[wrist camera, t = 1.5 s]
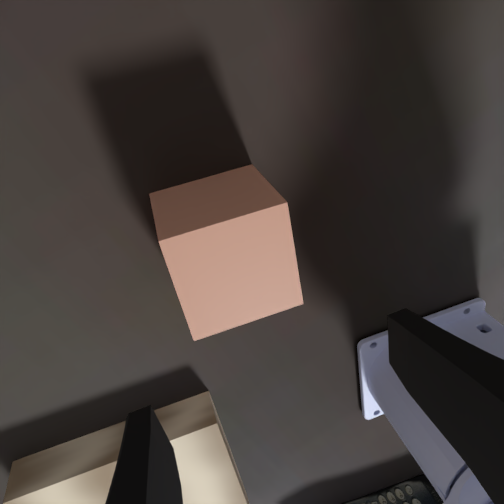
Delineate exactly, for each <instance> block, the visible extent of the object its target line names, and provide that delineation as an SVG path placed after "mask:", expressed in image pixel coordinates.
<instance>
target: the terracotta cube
mask: <svg viewBox="0 0 504 504" xmlns="http://www.w3.org/2000/svg"><path fill="white" fill-rule="evenodd" d="M149 196H150V201H151V206H152V211H153V216H154V221H155V226H156V232H157V237H158V242H159V244H160V247H161V250H162V253H163V256H164V258H165V261H166V264H167V267H168V270H169V272H170V275H171V278H172V281H173V284H174V286H175V289H176V292H177V295H178V298H179V300H180V303H181V306H182V309H183V312H184V314H185V317H186V320H187V323H188V326H189V329H190V331H191V334H192V337H193V340H194V341H196V340H199V339H202V338H205V337H208V336H211V335H213V334H216V333H219V332H222V331H225V330H228V329H231V328H234V327H237V326H240V325H243V324H246V323H249V322H252V321H255V320H257V319H260V318H263V317H266V316H269V315H272V314H275V313H278V312H281V311H284V310H287V309H290V308H293V307H296V306H298V305H301V304H303V298H302V291H301V285H300V279H299V272H298V266H297V260H296V254H295V247H294V241H293V235H292V228H291V222H290V216H289V209H288V203H287V201H286V200H285V199H284V198H283V197H282V196H281V195H280V194H279V193H278V192H277V191H276V190H275V188H274V187H273V186H272V185H271V184H270V183H269V182H268V181H267V180H266V179H265V178H264V177H263V176H262V175H261V173H260V172H259V171H258V170H257V169H256V168H255V167H254V166H253V165H252V164H251V165H248V166H244V167H241V168H237V169H234V170H230V171H226V172H223V173H219V174H216V175H212V176H209V177H205V178H202V179H198V180H195V181H191V182H188V183H184V184H181V185H177V186H174V187H170V188H167V189H163V190H160V191H156V192H153V193H149Z"/></svg>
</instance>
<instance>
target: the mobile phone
mask: <svg viewBox="0 0 504 504" xmlns="http://www.w3.org/2000/svg"><path fill="white" fill-rule="evenodd" d="M443 503H444V502H443V500H442V499H441V497H440V496H439V494H438V493H437V491H436V490H435V488H434V487H433V486H432V484H431V483H430V481H429V480H428V478H427V477H426V475H424V476H418V477H415V478H412V479H410V480H407V481H404V482H402V483H399V484H396V485H394V486H391V487H388V488H386V489H383V490H380V491H378V492H375V493H373V494H370V495H367V496H364V497H361V498H358V499H355V500H352V501H349V502H346V503H343V504H443Z"/></svg>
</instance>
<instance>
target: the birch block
mask: <svg viewBox="0 0 504 504" xmlns="http://www.w3.org/2000/svg"><path fill="white" fill-rule="evenodd" d="M154 412H155V414H156V416H157V418H158V420H159V422H160V424H161V425H162V427H163V429H164V431H165V433H166V435H167V437H168V439H169V441H170V443H171V444H172V446H173V448H174V453H175V458H176V462H177V467H178V472H179V477H180V482H181V488H182V498H183V504H249V501H248V497H247V494H246V491H245V488H244V485H243V483H242V480H241V477H240V474H239V472H238V469H237V466H236V464H235V461H234V458H233V455H232V453H231V450H230V447H229V444H228V442H227V439H226V436H225V434H224V431H223V428H222V425H221V423H220V420H219V417H218V414H217V412H216V409H215V406H214V404H213V401H212V398H211V395H210V393H209V391H207V392H204V393H201V394H198V395H196V396H193V397H190V398H187V399H184V400H182V401H179V402H176V403H173V404H171V405H168V406H165V407H162V408H159V409H157V410H154ZM125 423H126V421H123V422H121V423H118V424H115V425H112V426H110V427H107V428H104V429H101V430H98V431H96V432H93V433H90V434H87V435H85V436H82V437H79V438H76V439H74V440H71V441H68V442H65V443H62V444H60V445H57V446H54V447H51V448H49V449H46V450H43V451H40V452H37V453H35V454H32V455H29V456H26V457H24V458H21V459H18V460H15V461H13V462H12V467H11V471H10V476H9V480H8V484H7V489H6V493H5V497H4V502H3V504H105V503H106V499H107V496H108V492H109V489H110V485H111V482H112V478H113V475H114V471H115V467H116V463H117V459H118V455H119V451H120V447H121V443H122V438H123V433H124V428H125Z"/></svg>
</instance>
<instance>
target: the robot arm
mask: <svg viewBox="0 0 504 504" xmlns="http://www.w3.org/2000/svg"><path fill="white" fill-rule="evenodd" d="M387 319H388V330H387V331H384V332H381V333H379V334H376V335H373V336H370V337H367V338H365V339H362V340H361V341H360V342H359V343H358V345H357V352H358V365H359V378H360V391H361V404H362V414H363V416H364V418H365V419H372V418H375V417H377V416H380V415H382V414H385V416H386V417H387V419H388V420H389V422H390V423H391V425H392V426H393V428H394V429H395V431H396V432H397V434H398V435H399V437H400V438H401V440H402V441H403V443H404V444H405V446H406V447H407V449H408V450H409V451H410V453H411V454H412V456H413V457H414V459H415V460H416V462H417V463H418V465H419V466H420V468H421V469H422V471H423V472H424V474H425V475H426V477H427V478H428V480H429V481H430V483H431V484H432V486H433V487H434V488H435V490H436V491H437V493H438V494H439V496H440V497H441V499H442V500H443V502H444V503H443V504H504V326H503V325H502V324H500V323H499V322H498V321H497V320H495V319H494V318H493V317H492V316H490V315H489V314H488V313H487V312H485V301H484V300H483V299H481V298H476V299H473V300H470V301H467V302H464V303H462V304H459V305H456V306H453V307H451V308H448V309H445V310H442V311H439V312H437V313H434V314H431V315H428V316H426V317H423V318H422V317H421V316H419V315H417V314H415V313H413V312H411V311H410V310H408V309H403V310H400V311H398V312H395V313H392V314H390V315H387ZM105 504H183V498H182V488H181V482H180V477H179V472H178V467H177V462H176V458H175V453H174V448H173V446H172V444H171V443H170V441H169V439H168V437H167V435H166V433H165V431H164V429H163V427H162V425H161V424H160V422H159V420H158V418H157V416H156V414H155V412H154V410H153V408H152V406H151V405H150V406H148V407H145V408H142V409H140V410H137V411H134V412H132V413H129V414H128V416H127V418H126V423H125V428H124V433H123V438H122V443H121V447H120V451H119V455H118V459H117V463H116V467H115V471H114V475H113V478H112V482H111V485H110V489H109V492H108V496H107V499H106V503H105Z"/></svg>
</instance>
